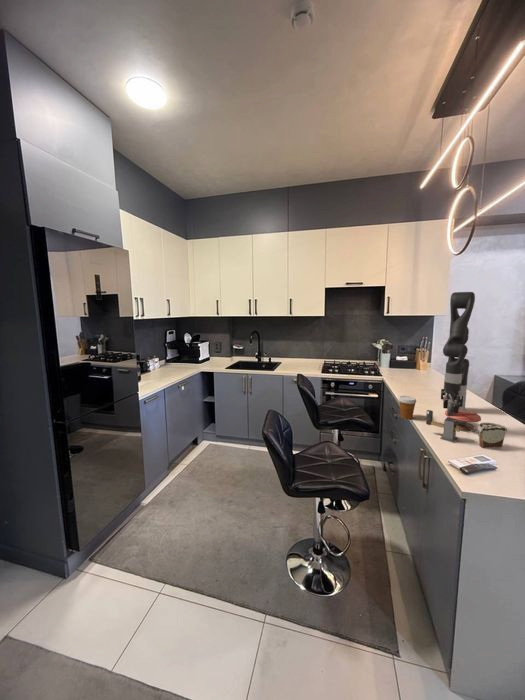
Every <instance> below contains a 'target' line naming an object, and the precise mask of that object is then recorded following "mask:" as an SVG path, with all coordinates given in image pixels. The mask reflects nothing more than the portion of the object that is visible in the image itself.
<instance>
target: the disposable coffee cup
mask: <svg viewBox="0 0 525 700" xmlns="http://www.w3.org/2000/svg"><path fill="white" fill-rule="evenodd" d="M398 401H399V411H400V412H399V413H400V418H401V419H403V420H404V419H405V420H412V419H413V417H414V411H415V407H416V403H417V399H416V397H414V396H410V395H400V396H399V398H398Z"/></svg>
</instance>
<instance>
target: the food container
mask: <svg viewBox="0 0 525 700" xmlns="http://www.w3.org/2000/svg"><path fill="white" fill-rule="evenodd" d="M477 431H478V434H479V435H478V436H479V437H478V438H479V440H478V442H479V447H480V448H482V449H495V448H496V449H497V448H498V449H499V448H501V449H502V448H503V446H504V440H505V437H506V436H505V435H506V432H508V428H507V426H505V425H502V424H499V423H493V422H481V423H479V424H478V425H477Z"/></svg>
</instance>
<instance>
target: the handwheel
mask: <svg viewBox="0 0 525 700" xmlns="http://www.w3.org/2000/svg"><path fill="white" fill-rule="evenodd" d="M453 407H454V405H453V403H452V402H448V408H446V410H445V411H444V412H445V413H444V415H445V416H446V418H447V417H449V418H453V419H457V420H458V424H460V425H466V422H468V423H478V422H481V421H482V416H481V415H480V414H478V413H477V412H473V411H468V410H465V411H464V410H458V413H457V414H454V413H453Z"/></svg>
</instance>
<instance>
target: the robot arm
mask: <svg viewBox="0 0 525 700" xmlns="http://www.w3.org/2000/svg"><path fill="white" fill-rule="evenodd" d="M475 300H476V295H475V293H474V292H473V291H459V292H457V291H456V292H453V293H451V295H450V303H449V305H450V325H449V337H448V340H447V341H446V343H445V345H444V346H443V349H442V353H443V355H444V356H445V357H448V358H447V359H448V361H447V362H446V363H445V364H446V365H445V372H444V383H443V388H441V390H440V400H442V402H443V403H442V404H443V405H442V408H443V409H446V410H447V408H448V402H452V403H453V405H454V407H453V413H454V414H457V413H458V410H464V411H466V401H467V399H466V398H467V389H468V377H469V376H468V375H469V369H470V360H469V359H467V358H466V356H467V354H468V350H469V348H468V346H467V345H466V344H467V342H468V341H469V335H470V334H469V333H470V329H469V327H468V324H469V322H470V319H471V316H472V314H473V313H472V312H473V309H474V307H475V302H476V301H475ZM459 309H460V310H463V309H464V311H463V312H462V314H461V315H460V314H459V311H458V310H459Z"/></svg>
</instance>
